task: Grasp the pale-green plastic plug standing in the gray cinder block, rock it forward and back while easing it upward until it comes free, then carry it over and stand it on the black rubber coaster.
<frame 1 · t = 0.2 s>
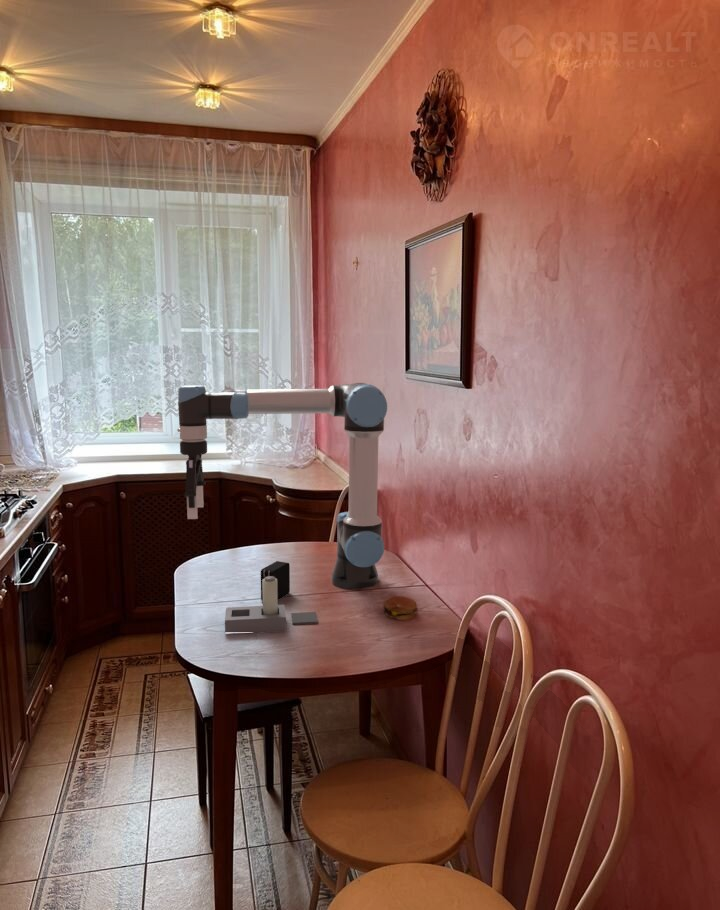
hand: (195, 512, 196), 28 cm above the table, fingers open, 13 cm apart
electronic device: (275, 598, 206), on the table
coaster: (304, 619, 190), on the table
burger: (400, 615, 194), on the table
gray cinder block: (255, 626, 185), on the table
plug: (270, 625, 186), resting in gray cinder block
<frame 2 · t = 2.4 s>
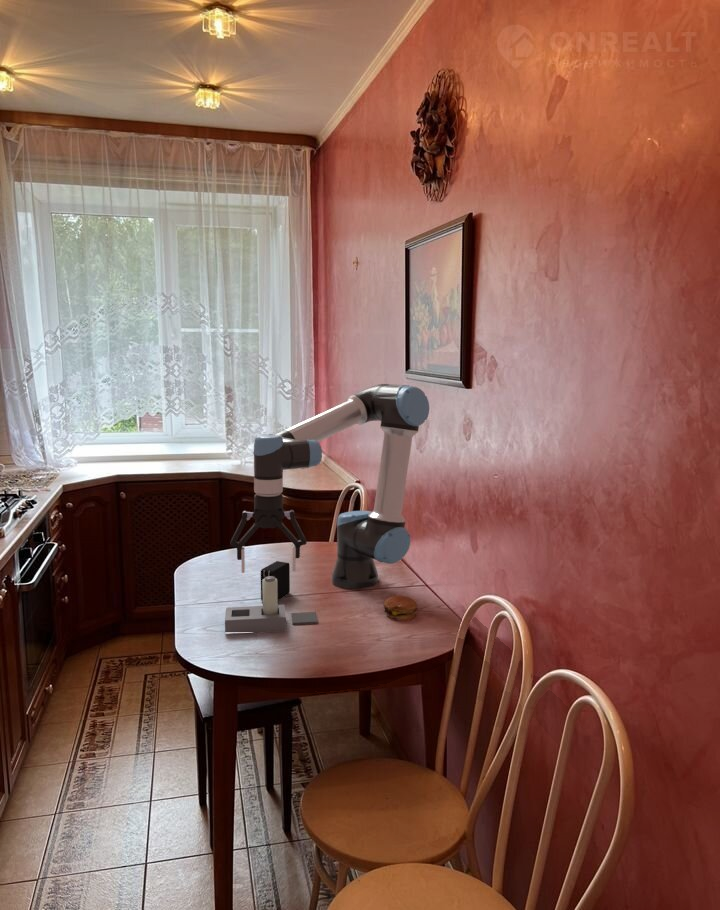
hand: (268, 570, 183), 16 cm above the table, fingers open, 13 cm apart
nothing on the table moved.
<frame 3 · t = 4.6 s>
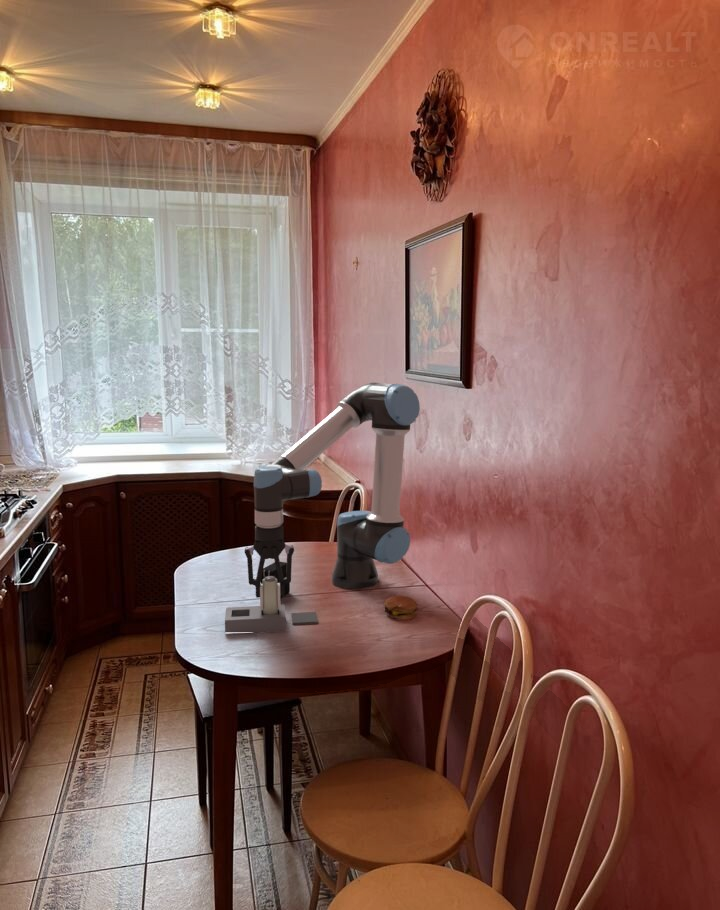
hand: (270, 607, 185), 5 cm above the table, fingers closed on plug, 4 cm apart
plug: (270, 625, 186), resting in gray cinder block, touching gripper
everything else where it was.
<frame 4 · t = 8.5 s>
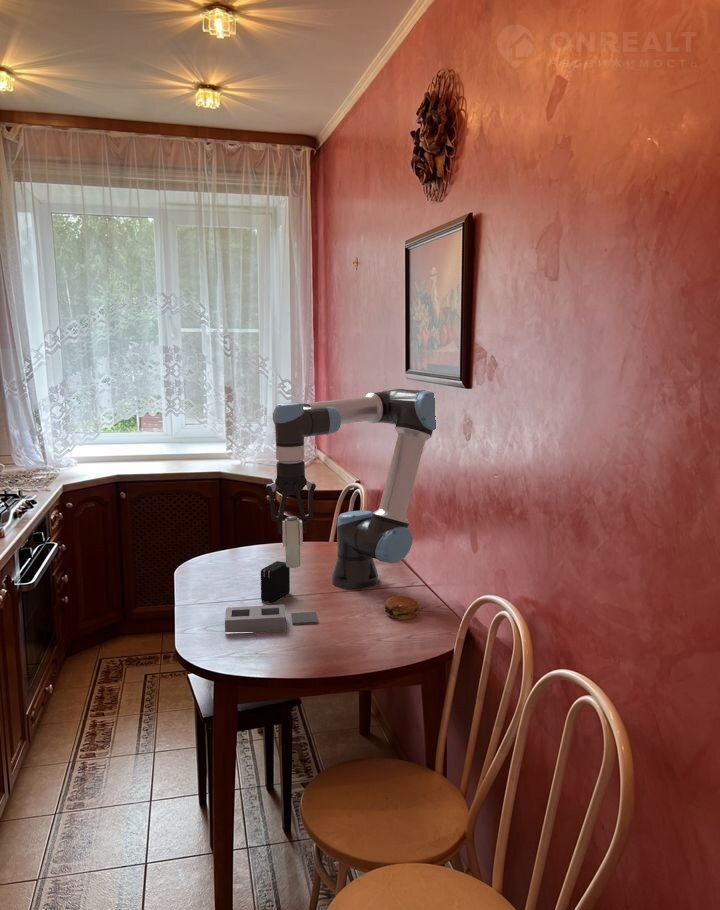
hand: (292, 544, 185), 22 cm above the table, fingers closed on plug, 4 cm apart
plug: (293, 565, 186), point 16 cm above the table, touching gripper
everything else where it was.
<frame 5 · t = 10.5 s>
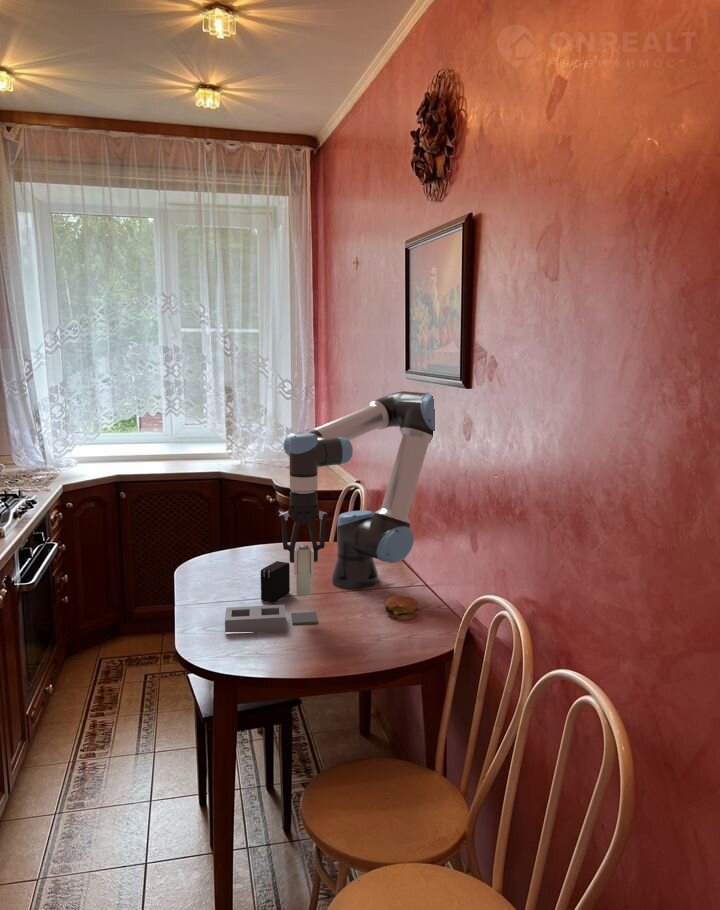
hand: (303, 573, 188), 14 cm above the table, fingers closed on plug, 4 cm apart
plug: (303, 593, 189), point 8 cm above the table, touching gripper
everything else where it was.
when the fingers open (7 cm above the table, at t = 12.4 s): plug drops 1 cm, resting on coaster.
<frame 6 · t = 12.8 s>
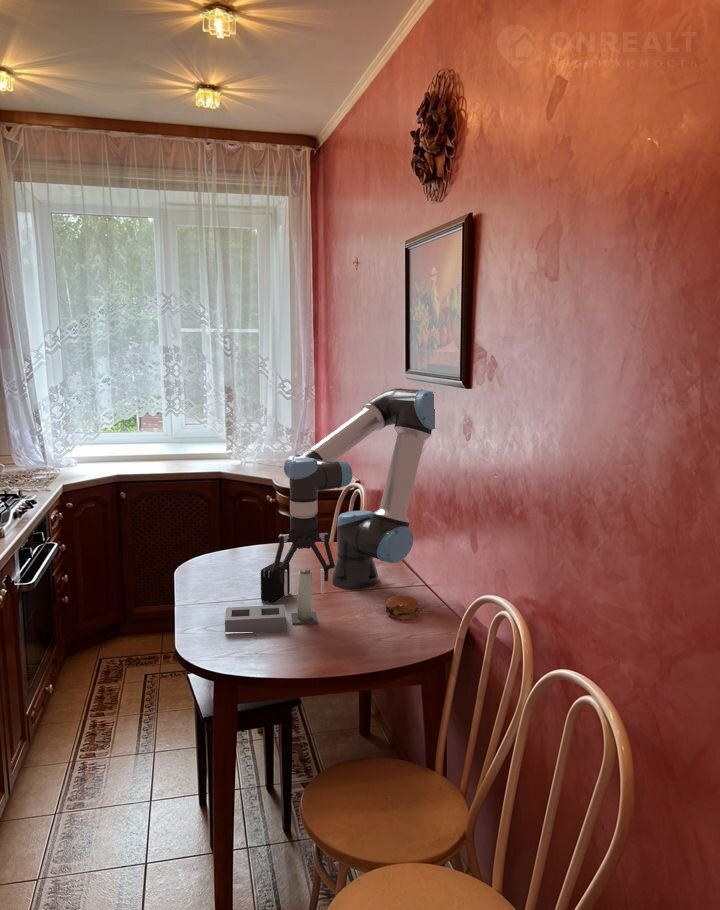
hand: (304, 593, 189), 8 cm above the table, fingers open, 9 cm apart
plug: (304, 617, 190), point 1 cm above the table, touching coaster
everything else where it was.
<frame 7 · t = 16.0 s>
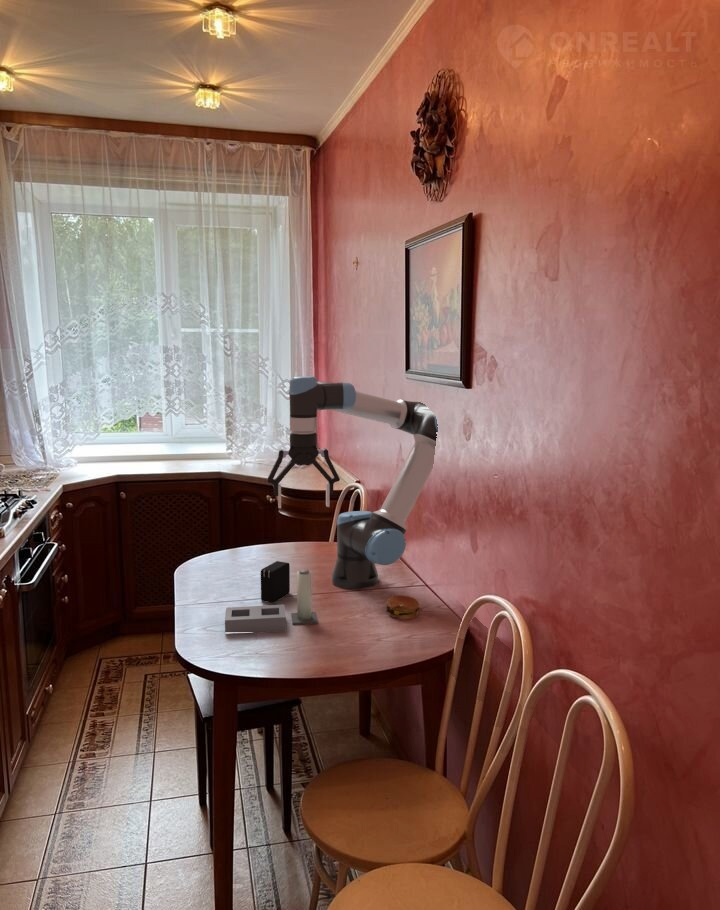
hand: (303, 506, 192), 31 cm above the table, fingers open, 13 cm apart
nothing on the table moved.
at the end: plug inside the target area on the coaster (0.0 cm from its centre), point 0.6 cm above the coaster's base; plug tilted 0°; the gripper is holding nothing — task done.
